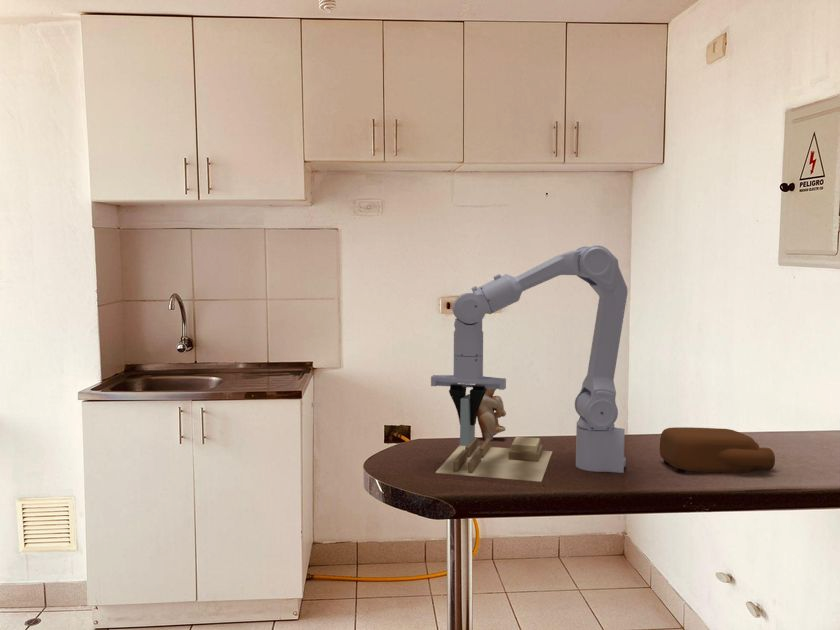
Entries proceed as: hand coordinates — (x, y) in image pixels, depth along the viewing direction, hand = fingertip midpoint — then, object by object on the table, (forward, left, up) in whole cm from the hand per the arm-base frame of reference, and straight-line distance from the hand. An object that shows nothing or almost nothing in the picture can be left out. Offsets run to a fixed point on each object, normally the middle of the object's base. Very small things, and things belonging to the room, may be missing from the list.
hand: (467, 424), depth 140 cm
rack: (-5, -5, -9) cm, 12 cm away
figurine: (0, -24, -10) cm, 26 cm away
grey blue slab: (0, 0, -4) cm, 4 cm away
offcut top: (-10, -11, -7) cm, 16 cm away
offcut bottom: (-10, -11, -8) cm, 17 cm away
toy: (-47, -17, -10) cm, 51 cm away
